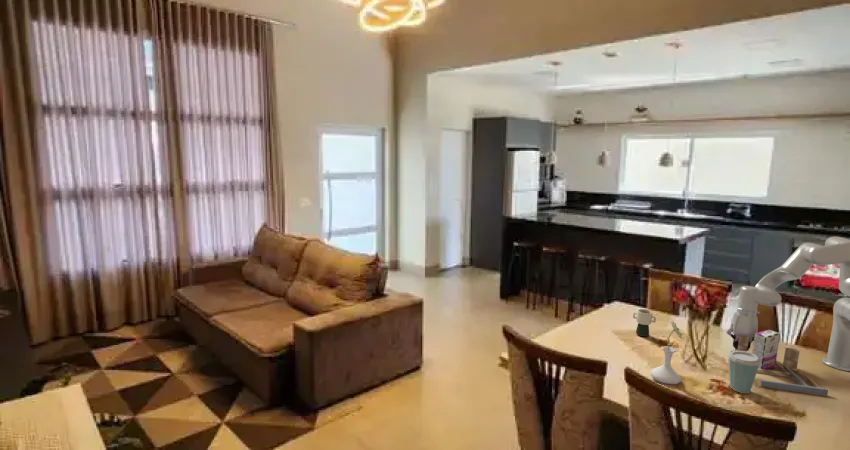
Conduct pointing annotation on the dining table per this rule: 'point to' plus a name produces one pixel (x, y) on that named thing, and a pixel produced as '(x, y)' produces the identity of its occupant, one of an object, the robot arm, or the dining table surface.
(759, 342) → the candy bar box
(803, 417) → the dining table surface
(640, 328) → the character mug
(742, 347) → the sled
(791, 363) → the sled
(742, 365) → the disposable coffee cup
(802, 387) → the lane rails
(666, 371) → the flower in vase
